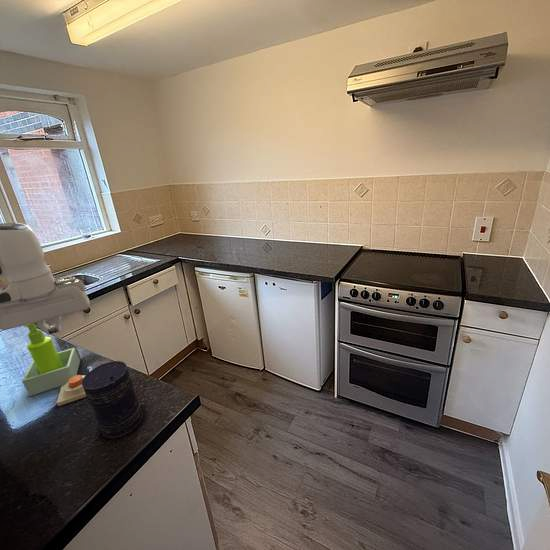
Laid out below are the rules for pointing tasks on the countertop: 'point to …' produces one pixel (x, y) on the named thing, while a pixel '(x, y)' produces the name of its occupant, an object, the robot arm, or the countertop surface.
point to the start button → (75, 381)
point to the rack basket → (52, 373)
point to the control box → (70, 394)
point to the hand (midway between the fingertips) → (54, 332)
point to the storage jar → (113, 398)
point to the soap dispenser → (42, 350)
